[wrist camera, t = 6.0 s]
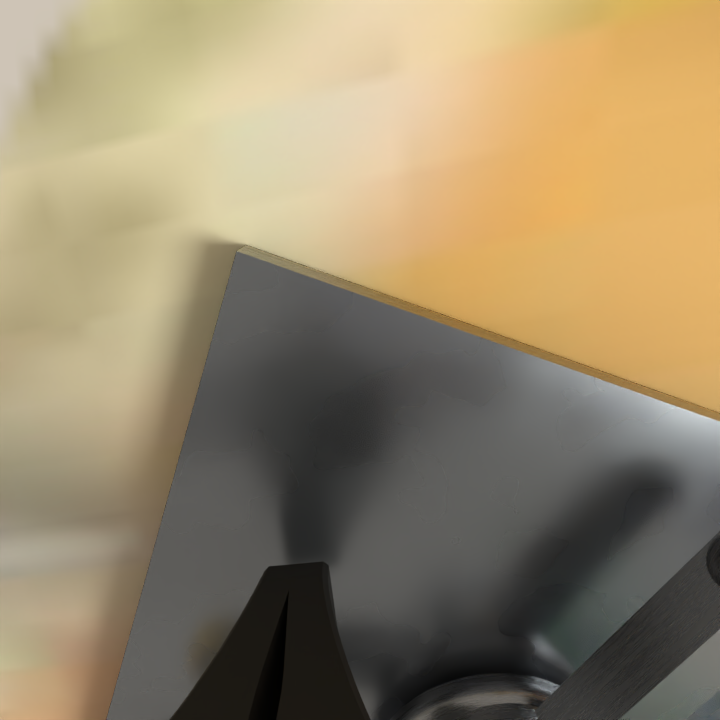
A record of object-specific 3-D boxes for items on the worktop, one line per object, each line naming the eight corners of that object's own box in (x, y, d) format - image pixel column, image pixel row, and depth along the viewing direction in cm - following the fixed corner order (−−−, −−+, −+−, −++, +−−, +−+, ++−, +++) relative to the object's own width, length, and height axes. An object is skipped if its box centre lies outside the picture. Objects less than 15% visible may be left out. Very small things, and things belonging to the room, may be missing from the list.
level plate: (980, 505, 13) (1073, 553, 12) (608, 920, 19) (633, 991, 18) (246, 245, 11) (227, 256, 9) (82, 822, 17) (53, 894, 15)
